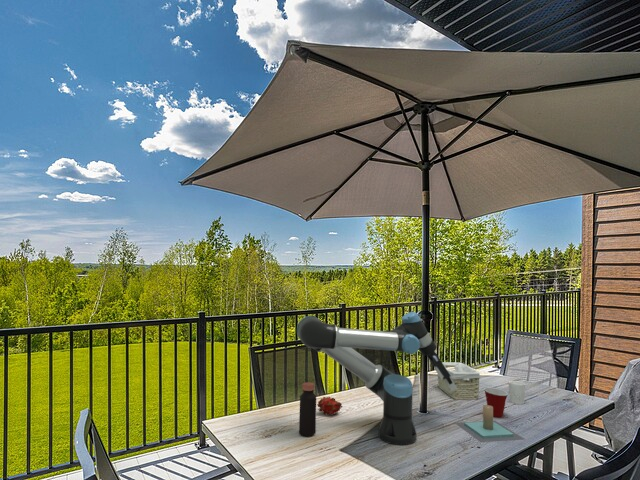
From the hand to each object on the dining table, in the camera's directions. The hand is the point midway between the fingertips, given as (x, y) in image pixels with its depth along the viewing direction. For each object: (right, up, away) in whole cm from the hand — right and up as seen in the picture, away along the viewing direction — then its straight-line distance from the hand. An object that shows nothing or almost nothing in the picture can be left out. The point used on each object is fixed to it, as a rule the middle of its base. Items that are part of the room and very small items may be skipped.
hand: (448, 383), depth 179 cm
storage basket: (+18, -21, +41) cm, 50 cm away
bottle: (-64, -14, -18) cm, 68 cm away
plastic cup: (+25, -18, +7) cm, 32 cm away
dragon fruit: (-54, -16, +5) cm, 57 cm away
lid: (+13, -16, -11) cm, 24 cm away
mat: (+13, -16, -11) cm, 24 cm away
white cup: (+45, -20, +28) cm, 57 cm away
